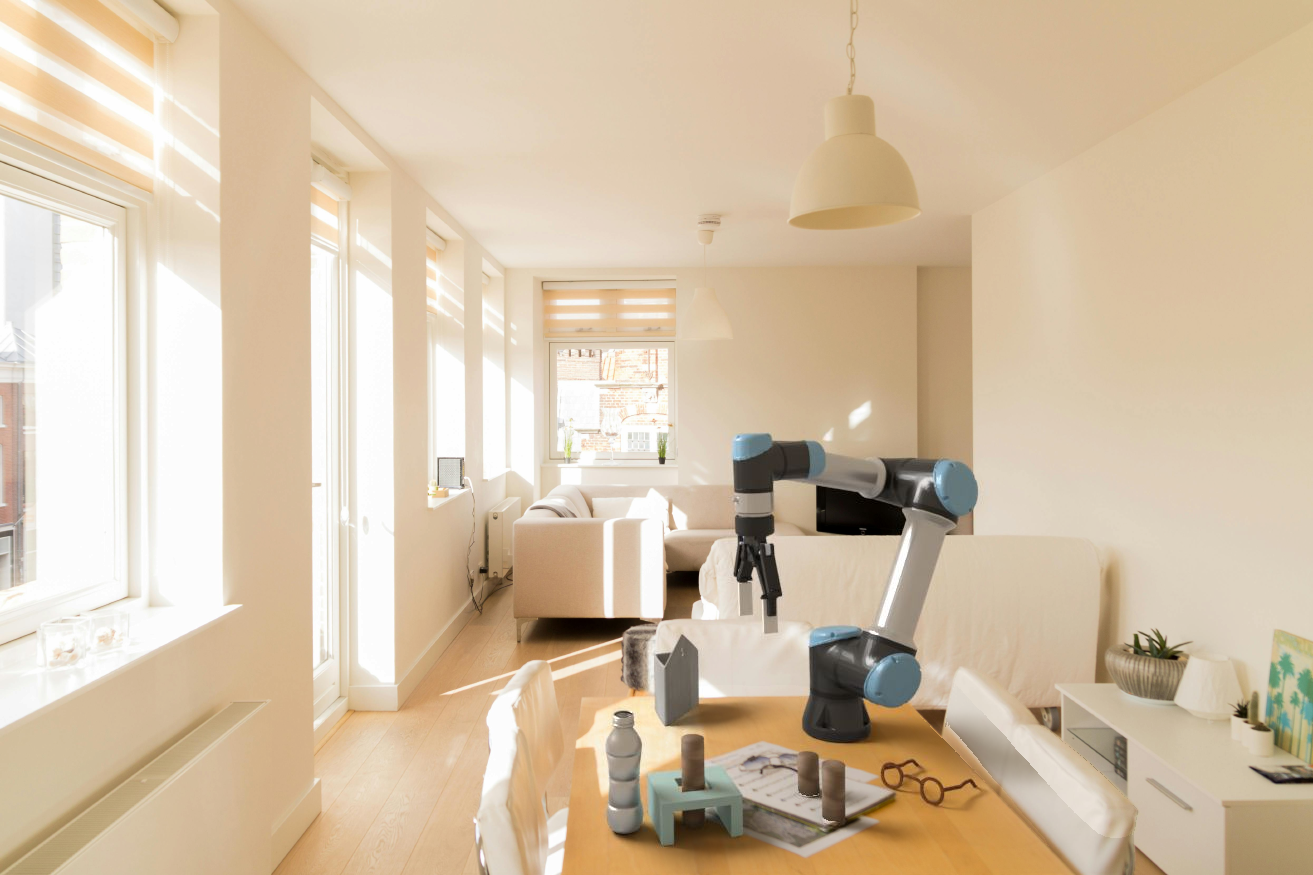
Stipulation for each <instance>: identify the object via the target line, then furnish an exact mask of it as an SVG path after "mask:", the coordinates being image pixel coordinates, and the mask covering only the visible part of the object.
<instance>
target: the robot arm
mask: <svg viewBox="0 0 1313 875" xmlns="http://www.w3.org/2000/svg"><path fill="white" fill-rule="evenodd" d="M731 462H732V469H733V491H734V494H733V496H734V497H732V499H731V500H732V503H734V512H735V513H737V514H736V515H735V516H734V531H735V534H736V535H737V546H736V555H735V560H734V568H733V576H734V578H735V579H736V582H737V594H738V595H737V597H738V598H737V599H738V600H737V601H738V602H737V603H738V616H739V617H746V616H753V615H754V613H753V611H754V610H753V606H754V605H753V581H754V578H753V576H752V575H753V571H754V568H755V570H756V573H757V577H758V579H759V585H760V587H761V591H762V594H761V596H760V600H761V615H762V616H761V617H762V619H761V621H762V634H764V635H767V634H777V633H779V624H778V622H779V620H778V617H779V616H778V598H779V597H782V596H783V591H782V587H781V586H782V585H781V582H780V581H781V580H780V576H779V571H778V565H777V559H776V555H775V554H776V553H775V544H774V543H773V542H772V543H771V542H770V543H768V542H767V537H768V536H771V535H773V534H774V533H775V531H776V530H775V516H774V514H772V513H773V512H774V511H775V491H774V482H777V481H790V482H795V483H801V484H807V485H813V486H820V487H824V488H825V487H826V488H832V489H839V490H844V491H851V492H855V493H856V492H857V493H859V495H861V496H862V497H864V498H866V499H872V500H876V501H880V502H883V503H887V504H891V505H893V506H897V507H899V508H902V510H901V511H902V513H903V514H904V517H905V519H906V520H905V523H904V527H903V529H902V532H901V533H902V534H901V536H900V539H899V541H898V545H897V548H896V551H895V554H894V557H893V561H892V563H891V566H890V570H889V573H888V575H887V579H886V582H885V585H884V588H883V590H882V594H881V598H880V600H879V603H878V606H877V609H876V613H875V616H874V619H873V622H872V624H871V625H868V626H867V627H864V628H863V629H862V628H860V627H859V626H856V625H843V624H842V625H841V624H840V625H827V626H822V627H821V626H820V627H817V628H815V629H813V630H811V632H810V634H809V640H808V641H809V643H808V644H809V645H808V662H809V696H808V698H807V702H806V704H805V707H804V710H803V714H802V718H801V721H802V723H801V724H802V730H803V732H804V733H806V734H807V735H808V736H811V737H812V738H815V739H819V740H822V741H826V742H832V743H833V742H835V743H837V742H838V743H851V742H857V741H861V740H862V741H863V740H864V739H866V738H868V737H870V735H871V732H872V720H871V718H870V715H869V712H868V710H867V706H866V703H865V701H866V700H867V701H869V702H870V703H871V704H874V705H876V706H881V707H884V708H889V709H895V708H896V709H897V708H899V707H902V706H904V704H908V703H909V701H911V700H912V699H913V698H914V697H915V695H916V694H917V692H918V690H919V689H920V685H921V681H922V671H921V665H920V663H919V661H918V659H917V658H916V655H917V652H918V648H917V646H916V644H915V642H914V636H915V634H916V633H915V632H916V630H917V627H918V623H919V620H920V617H921V614H922V611H923V608H924V604H925V601H926V598H927V595H928V592H929V588H930V585H931V582H932V578H933V576H934V572H935V570H936V567H937V563H938V560H939V557H940V554H941V551H942V548H943V545H944V541H945V538H946V535H947V533H948V532H950V531H951V530H954V529H956V528H957V525H958V522H959V519H960V517H964V516H967V515H969V513H970V512H973V510H974V509H975V507H976V504H977V502H978V496H979V486H978V481H977V480H976V477H975V473H974V472H973V471H972V469H971V468H970V467H969V466H968V465H966V464H965V463H964V462H962V461H959V460H952V459H951V460H950V459H948V458H942V459H939V458H921V457H920V458H919V457H918V458H917V457H894V458H893V457H891V458H890V457H885V458H884V457H879V456H869V457H866V458H858V457H853V456H847V455H841V454H836V453H831V452H826V451H825V449H824V447H823V445H822V444H821V443H820V442H818V441H817V440H806V439H802V440H773V437H772V434H770V433H769V432H767V433H766V432H758V433H757V432H754V433H750V432H748V433H740V434H736V435H734V437H733V440H732V453H731ZM864 699H865V700H864Z"/></svg>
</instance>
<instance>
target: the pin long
mask: <svg viewBox="0 0 1313 875" xmlns="http://www.w3.org/2000/svg"><path fill="white" fill-rule="evenodd" d="M680 737H681V738H680V752H681V753H680V757H681V758H680V759H681V760H680V761H681V763H680V764H681V765H680V766H681V770H682V786H681V792H682V793H683V792H691V791H700V790H706V785H705V771H704V767H705V738H704V736H703V735H701V734H697V733H687V734H683V736H680ZM681 815H682V816H681V819H682V821H681V822H682V826H683V827H685V828H686V829H690V830H698V829H701V828H703V827H705V825H706V808H701V809H693V810H685V811H681Z"/></svg>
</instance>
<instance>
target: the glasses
mask: <svg viewBox="0 0 1313 875" xmlns="http://www.w3.org/2000/svg"><path fill="white" fill-rule="evenodd" d="M909 764H913V765H914V766H915V767H919V766H920V764H919V763H918V762H917V761H916V760H915V759H913V758H910V759H906V760H905V761H903V762H901V763H894V762H891V761H889V762H885V763H884V764H883V765H882V766H881V768H880V778H881V781H882V783H883V784H884V786H885V787H887V788H888V789H891V790H898V789H900V788H901V787H902V784H903V782H904V778H906V779H909V780H911V781H915V782H916V783H918V784H919V791H920V797H921V798H922V799H923V801H924V802H925V803H927V805H931V806H939V805H940V804H942V803H943V801H944V799H945V793H946V792H951V791H957V790H960V789H963V788H964V787H965V786H967V785H968V784H969V783H970V785H971V786H972V787H973V788H974V789H975V788H977V787H978V785H977V784H976V783H975V781H974V780H973V778H968V779H965V780H964V781H962V782H961V783H960V784H956V785H951V786H946V787H944V785H943V784H942V782H941V781H940V780H939V779H937V778H935V777H932V776H927V777H924V778H922V779H921V780H920V778H918V777H917V776H914V775H911V774H909V773H908V774H907V773H906V774H904V771H903V769H901V768H904V767H905V766H907V765H909ZM892 769H893V770H894V769H896V770H897V771H898V773H899V780H898V782H897V784H896V785H892V784H890V783H889V782H887V780H886V778H885V771H886V770H887V771H888V770H892ZM928 781H932V782H934V783H935V784H936V785H938V788H939V791H940V797H939V799H938V800H937V801H932V800H930V799H929V798H927V796H926V794H925V790H924V788H925V784H926V782H928Z"/></svg>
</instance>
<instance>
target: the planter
mask: <svg viewBox="0 0 1313 875" xmlns="http://www.w3.org/2000/svg"><path fill="white" fill-rule="evenodd" d="M699 670H700V669H699V649H698V648H697V647H696V645H694V643H692V641H690V640H689V639H688V638H687V637H686V636H685V634H682V633H681V634H680V635H679V636H678V638H677V641H676V643H675V644H674V646H673V649H672V650H671V651H669V652H662V653H661V652H660V653H655V654H653V672H654V675H653V676H654V677H653V678H654V710H655V713H656V716H657V717H658V719H659V720H660V721H661V723H662V724H663V726H664V727H668V726H669V725H670V724H673V723H674V722H675V721H676V720H678V719H680V718H681V717H683V716H684V715H685V714H687V713H689V712H690V711H691V710H693V709H694V708H696V707H698V705H699V704H700V697H699V695H700V691H699V690H700V687H699V685H700V684H699V682H700V681H699V680H700V679H699V673H700V672H699Z"/></svg>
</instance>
